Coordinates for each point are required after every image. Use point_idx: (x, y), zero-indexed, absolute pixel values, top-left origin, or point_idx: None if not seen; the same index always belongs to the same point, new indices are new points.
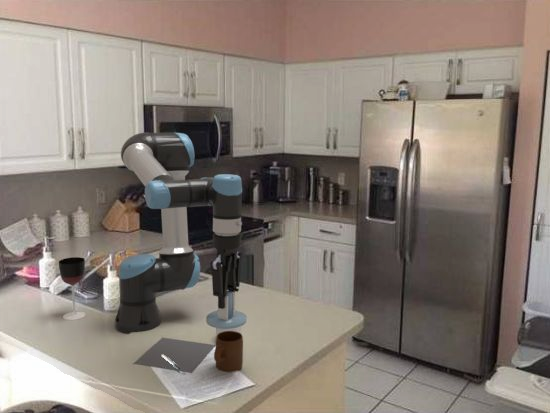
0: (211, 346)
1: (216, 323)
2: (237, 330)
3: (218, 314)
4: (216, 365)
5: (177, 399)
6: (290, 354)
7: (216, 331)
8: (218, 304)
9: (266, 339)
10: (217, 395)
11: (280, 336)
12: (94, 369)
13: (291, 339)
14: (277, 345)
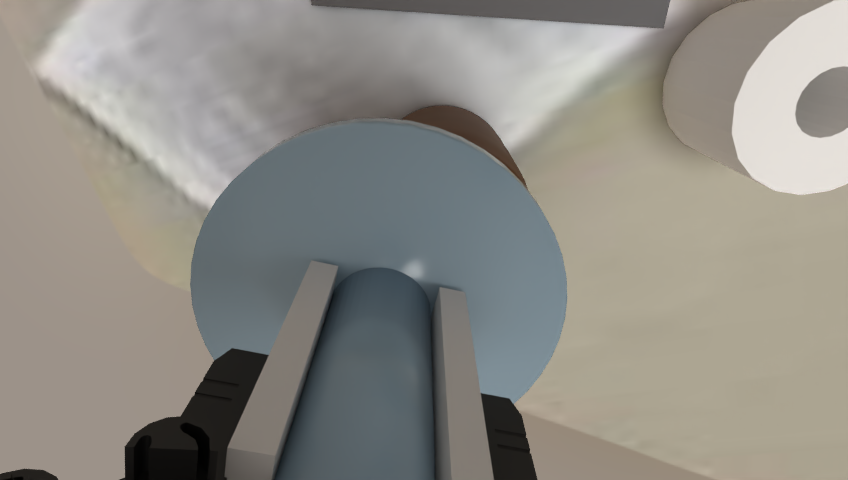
0: (642, 7)
1: (208, 273)
2: (732, 168)
3: (300, 285)
4: (403, 118)
5: (80, 21)
6: (604, 378)
7: (754, 16)
8: (202, 384)
9: (757, 265)
10: (193, 187)
11: (790, 317)
12: None
13: (754, 363)
14: (689, 320)
